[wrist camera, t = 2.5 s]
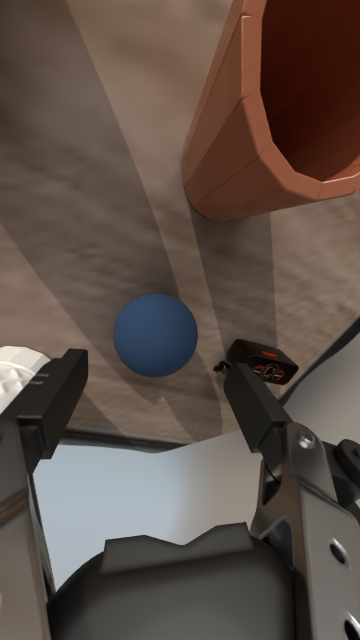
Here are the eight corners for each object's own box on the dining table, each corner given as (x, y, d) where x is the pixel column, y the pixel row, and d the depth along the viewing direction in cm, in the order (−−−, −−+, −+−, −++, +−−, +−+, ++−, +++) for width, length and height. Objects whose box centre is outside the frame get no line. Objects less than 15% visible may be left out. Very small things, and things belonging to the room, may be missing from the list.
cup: (173, 209, 13) (208, 162, 5) (193, 89, 10) (349, -482, 2) (247, 230, 14) (373, 221, 6) (281, 128, 11) (583, -128, 3)
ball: (119, 341, 17) (101, 395, 11) (124, 277, 14) (104, 305, 9) (181, 347, 18) (194, 398, 13) (196, 290, 16) (220, 321, 10)
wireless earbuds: (229, 333, 18) (243, 352, 15) (280, 347, 20) (301, 366, 17) (211, 366, 20) (220, 388, 17) (259, 376, 22) (276, 397, 19)
